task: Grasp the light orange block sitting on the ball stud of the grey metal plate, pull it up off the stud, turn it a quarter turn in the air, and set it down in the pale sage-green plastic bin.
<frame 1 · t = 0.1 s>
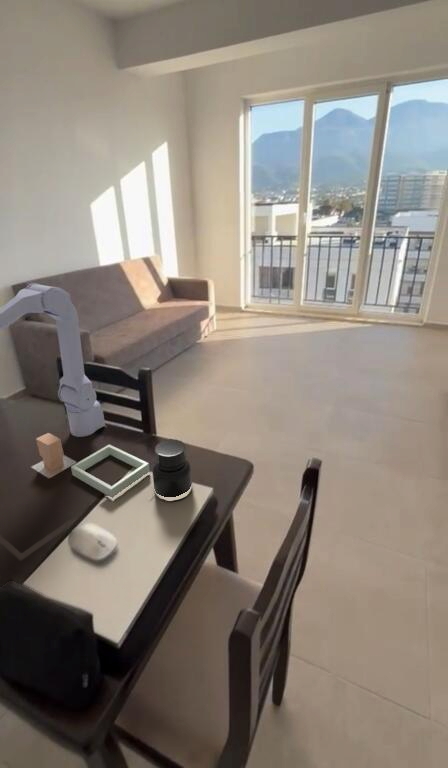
light orange block: (54, 464, 100), point 1 cm above the table, touching stud plate
ink bottle: (173, 490, 92), on the table
parts bin: (111, 476, 97), on the table
stud plate: (54, 467, 100), on the table
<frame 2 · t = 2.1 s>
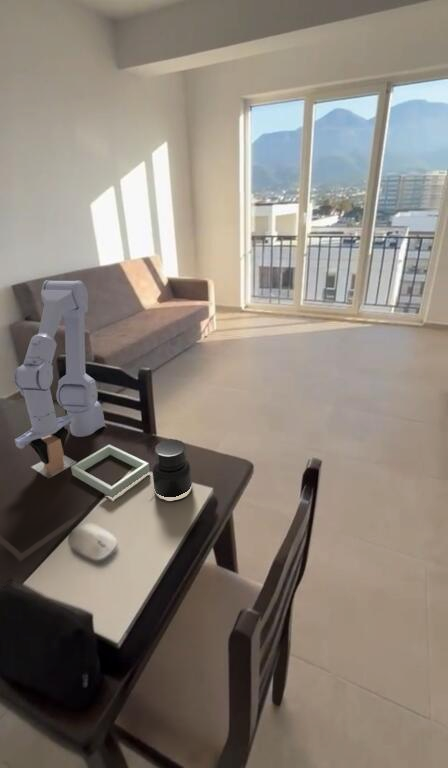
hand: (52, 458, 99), 3 cm above the table, tool pointing down, fingers closed on light orange block, 3 cm apart
light orange block: (54, 464, 100), point 1 cm above the table, touching gripper, stud plate
everything else where it was.
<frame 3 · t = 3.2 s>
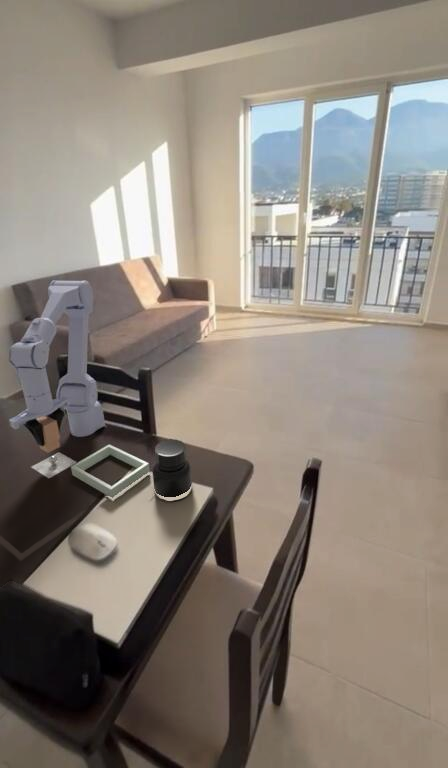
hand: (48, 440, 97), 8 cm above the table, tool pointing down, fingers closed on light orange block, 3 cm apart
light orange block: (50, 447, 97), point 6 cm above the table, touching gripper
everything else where it was.
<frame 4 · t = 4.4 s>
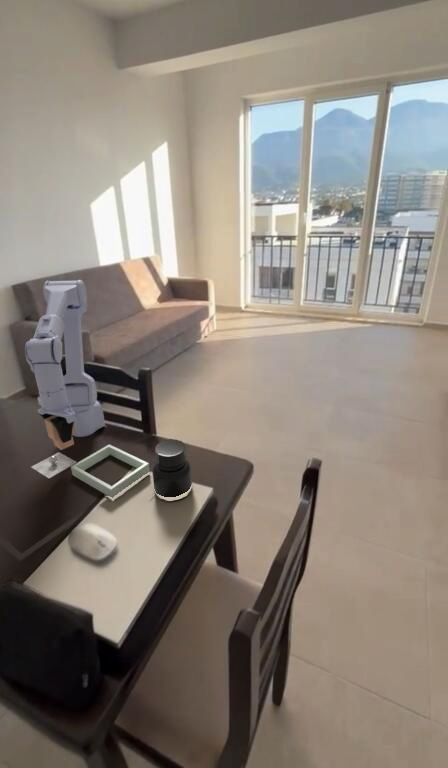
hand: (62, 438, 96), 9 cm above the table, tool pointing down, fingers closed on light orange block, 3 cm apart
light orange block: (64, 444, 96), point 7 cm above the table, touching gripper
everything else where it was.
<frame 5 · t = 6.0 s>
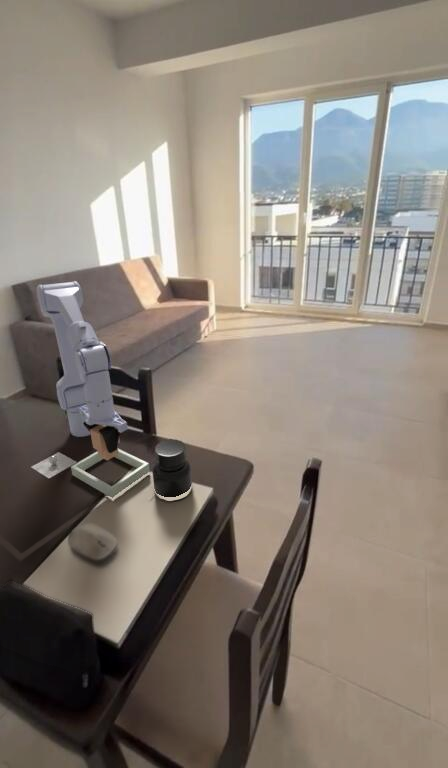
hand: (107, 448, 93), 8 cm above the table, tool pointing down, fingers closed on light orange block, 3 cm apart
light orange block: (108, 454, 94), point 7 cm above the table, touching gripper
everything else where it was.
when the fingers open (3 cm above the table, at t = 7.2 s): light orange block stays where it is, resting on parts bin.
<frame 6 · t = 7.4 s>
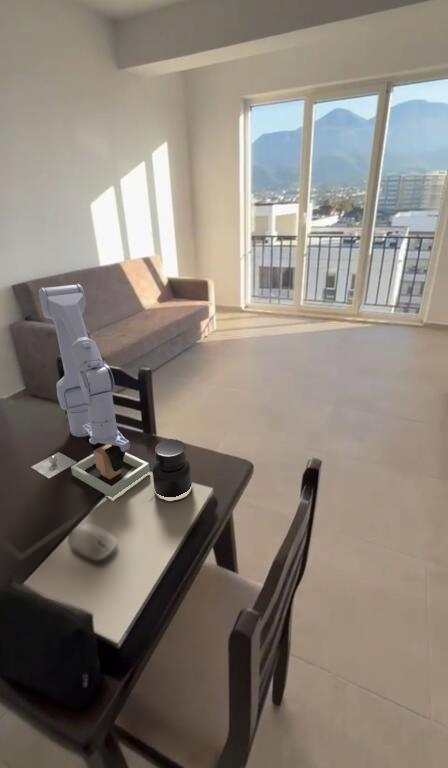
hand: (110, 465, 95), 3 cm above the table, tool pointing down, fingers open, 5 cm apart
light orange block: (111, 474, 96), point 1 cm above the table, touching parts bin
everything else where it was.
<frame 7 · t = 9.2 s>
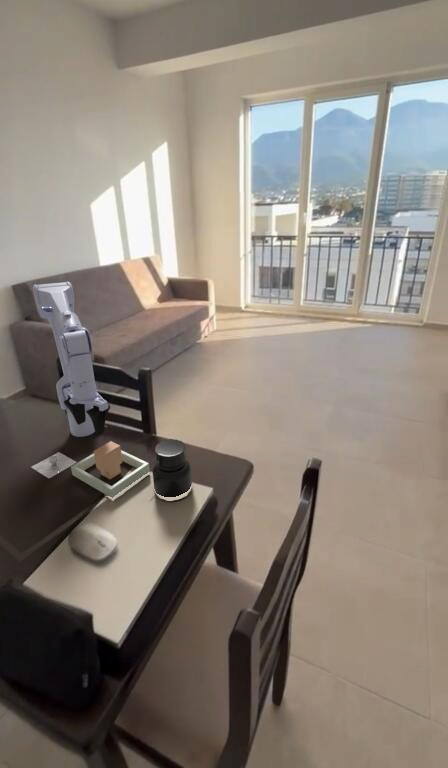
hand: (90, 427, 100), 9 cm above the table, tool pointing down, fingers open, 7 cm apart
nothing on the table moved.
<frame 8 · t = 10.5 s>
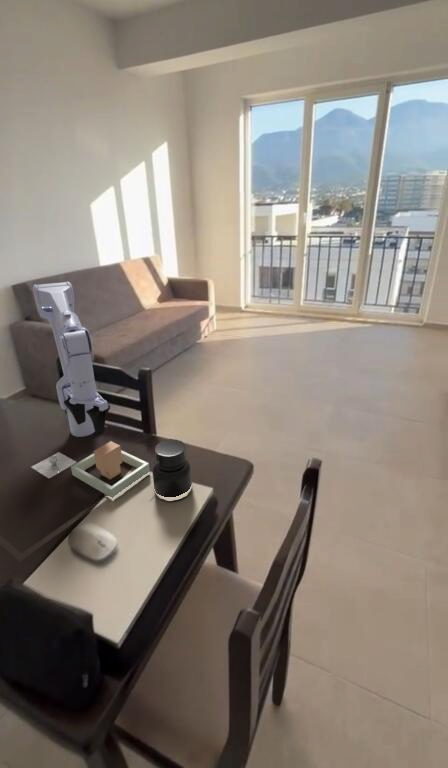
hand: (90, 427, 100), 9 cm above the table, tool pointing down, fingers open, 7 cm apart
nothing on the table moved.
at the end: light orange block inside the target area on the parts bin (0.1 cm from its centre), point 0.6 cm above the parts bin's base; the gripper is holding nothing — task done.
